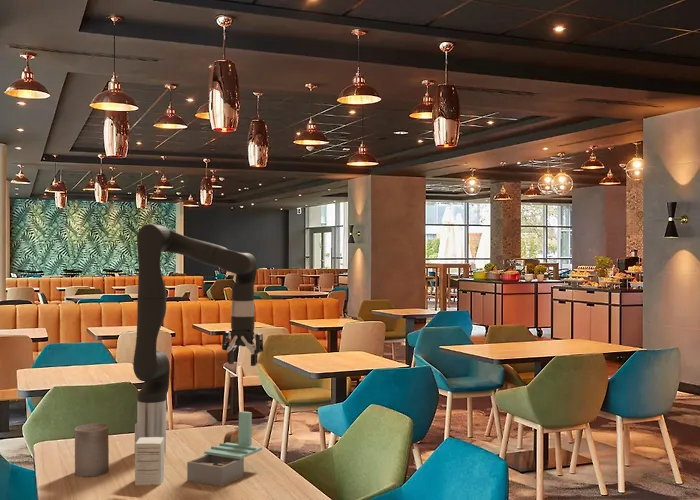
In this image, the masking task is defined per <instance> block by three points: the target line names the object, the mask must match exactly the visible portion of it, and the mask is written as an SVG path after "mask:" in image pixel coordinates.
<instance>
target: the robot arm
mask: <svg viewBox="0 0 700 500" xmlns="http://www.w3.org/2000/svg"><path fill="white" fill-rule="evenodd" d="M136 246H137V247H136V248H137V258H138V260H137V261H138V277H137V278H138V280H137V283H138V284H137V303H136V304H137V310H136V311H137V316H136V317H137V321H136V340H135V346H134V348H135V349H134V354H133V362H132V364H133V367H132V369H133V372H134V375H135V376H136V378H137V379H138V381H141V382H144V383H143V385H142V386H141V388H140V390H139V391H138V393H137V406H136V407H137V415H136V416H137V421H136V423H134V444H135V443H136V442H137V441H138V439H139V438H141V437H164V454H165V453H166V451H167V450H166V449H167V395H168V391H169V390H170V389H169V388H170V375H171V369H170V368H171V365H170V359H169V357H168V356H167V354H166V353H165V352H163V351H161V350H157V345H158V344H157V343H158V341H157V340H158V335H159V333H160V331H161V328H162V324H163V322H164V320H165V317H166V313H167V312H166V311H167V289H166V283H165V281H164V278H163V274H162V270H161V256H162V255H161V253H162V252H163V253H164V252H165V253H173V254H178V255H182V256H184V257H187V258H190V259H191V260H194V261H196V262H198V263H201V264H204V265H208V266H211V267H214V268H219V269H222V270H224V271H227V272H230V273H232V274H235V282H234V283H233V284H232V287H231V288H232V289H231V305H230V306H231V307H230V329H231V332H230V330H227V331H223V332H222V340H221V341H222V342H221V349H222V350H223V351H224V352H226V354H227V357H226V358H227V363H228V364H229V365H233V364H234V363H235V350H236V348H238V347H246V348H247V349H248V350H249V351H250V353H251V354H250V367H255V366H257V364H258V354H260V353H263V352H264V337H263V336H264V335H263V333H255V332H254V331H255V315H256V314H255V313H256V312H255V311H256V309H255V308H256V307H255V288H254V287H255V283H256V276H257V272H258V271H257V270H258V268H257V267H258V266H257V259H256V257H255V256H254V255H253V254H251V253H249V252H239V251H235V250H231V249H228V248H227V247H224V246H222V245H219V244H215V243H212V242H209V241H205V240H200V239H196V238H192V237H189V236H186V235H183V234H180V233H178V232H176V231H175V230H172V229H170V228H168V227H166V226H165V225H162V224H156V223H148V224H144V225H143V226H141V227H140V229H139V230H138V233H137V236H136ZM231 339H232V340H231ZM230 341H231V342H230Z"/></svg>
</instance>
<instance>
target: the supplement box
mask: <svg viewBox="0 0 700 500" xmlns="http://www.w3.org/2000/svg"><path fill="white" fill-rule="evenodd" d="M164 479H165V453H164V437H141V438H139V439H138V441H137V442H136V443H135V442H134V485H135V486H160V485H162V483H163V482H164Z"/></svg>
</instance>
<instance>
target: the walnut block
mask: <svg viewBox="0 0 700 500" xmlns="http://www.w3.org/2000/svg"><path fill="white" fill-rule="evenodd" d="M228 463H231V462H230V461H226V462H222V463H218V464H217V466H224V465H226V464H228Z"/></svg>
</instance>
